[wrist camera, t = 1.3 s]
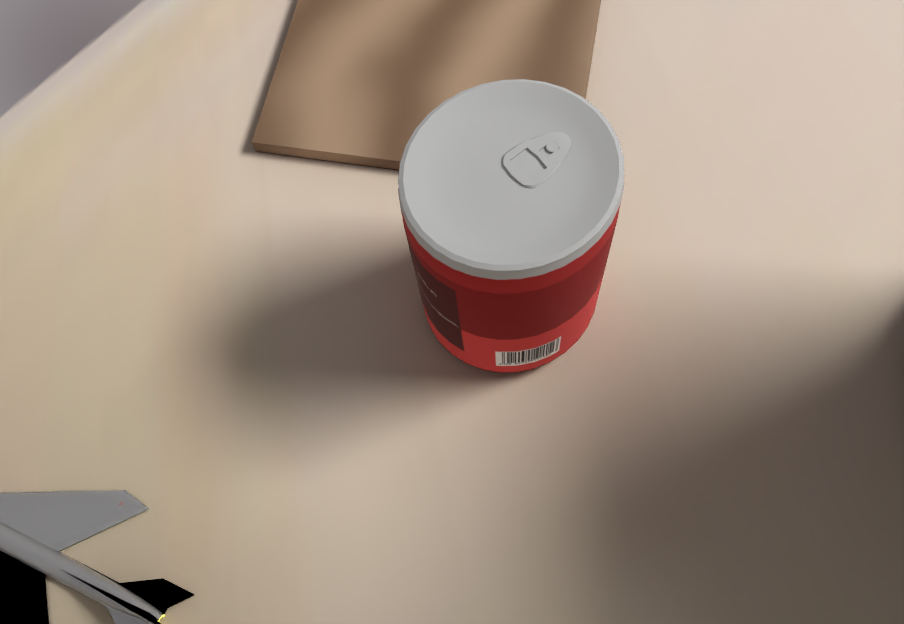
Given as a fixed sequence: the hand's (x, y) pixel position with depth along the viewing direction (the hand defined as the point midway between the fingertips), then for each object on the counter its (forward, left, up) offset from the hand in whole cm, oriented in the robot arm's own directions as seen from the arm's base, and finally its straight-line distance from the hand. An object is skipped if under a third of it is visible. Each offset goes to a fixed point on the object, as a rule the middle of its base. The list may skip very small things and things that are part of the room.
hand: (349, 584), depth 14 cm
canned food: (0, -15, -21) cm, 26 cm away
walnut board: (+6, -28, -21) cm, 35 cm away
